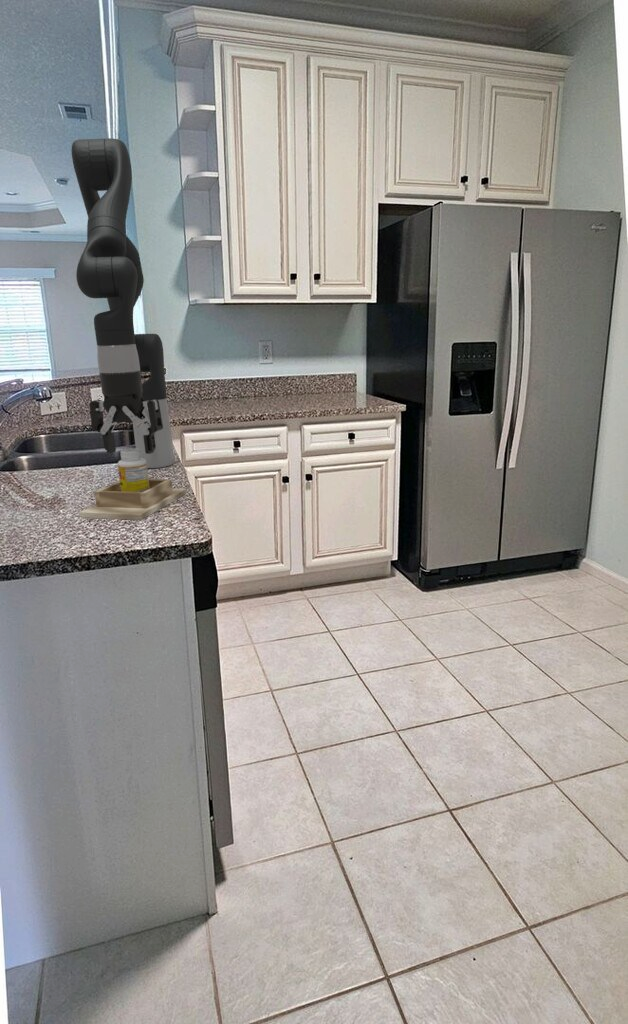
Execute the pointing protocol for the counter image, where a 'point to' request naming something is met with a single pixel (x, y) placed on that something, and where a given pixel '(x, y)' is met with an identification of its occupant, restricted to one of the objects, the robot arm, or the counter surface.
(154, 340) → the robot arm
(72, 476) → the counter surface
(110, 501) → the cup caddy
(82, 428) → the counter surface
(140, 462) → the supplement bottle
